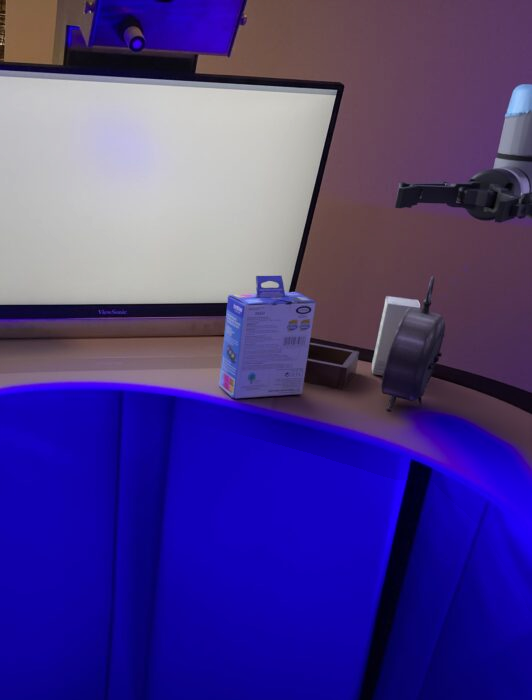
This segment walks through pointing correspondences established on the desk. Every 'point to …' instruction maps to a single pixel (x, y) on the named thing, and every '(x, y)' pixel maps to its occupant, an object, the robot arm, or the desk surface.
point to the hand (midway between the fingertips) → (447, 204)
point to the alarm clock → (413, 353)
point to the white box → (389, 329)
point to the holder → (330, 365)
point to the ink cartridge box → (266, 341)
